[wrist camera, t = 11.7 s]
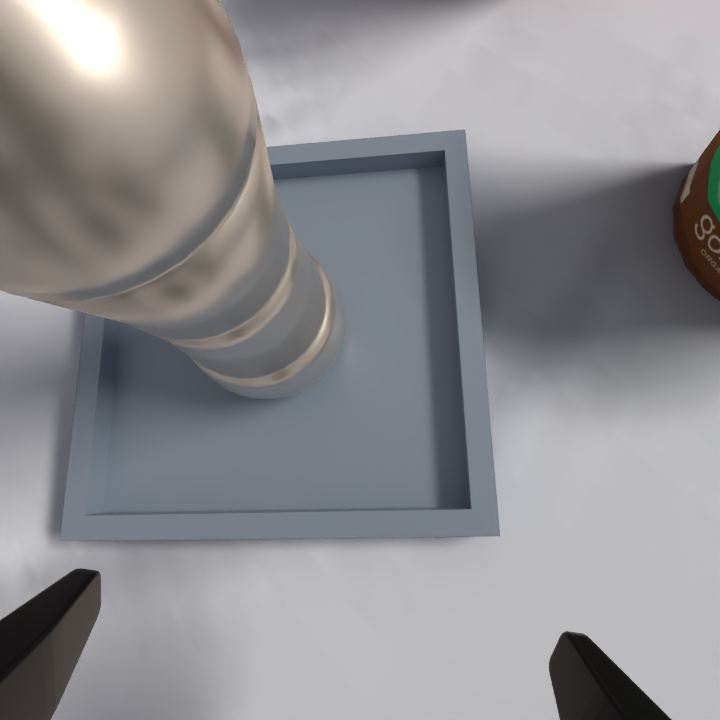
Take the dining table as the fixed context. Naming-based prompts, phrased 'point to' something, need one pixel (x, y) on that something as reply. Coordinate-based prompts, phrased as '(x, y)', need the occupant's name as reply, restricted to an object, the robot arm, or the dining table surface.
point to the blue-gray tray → (327, 397)
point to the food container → (701, 219)
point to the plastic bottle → (155, 189)
